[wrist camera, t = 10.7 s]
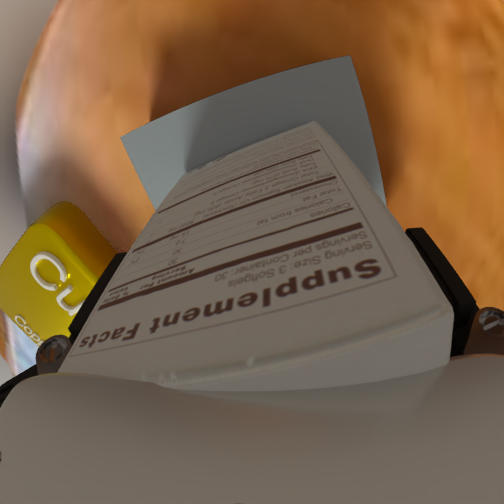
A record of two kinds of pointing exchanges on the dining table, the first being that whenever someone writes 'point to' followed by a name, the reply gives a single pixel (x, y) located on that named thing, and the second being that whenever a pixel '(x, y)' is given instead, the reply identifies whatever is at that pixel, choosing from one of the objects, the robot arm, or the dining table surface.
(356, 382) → the supplement box
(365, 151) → the grey block
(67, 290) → the element tile
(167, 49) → the dining table surface
